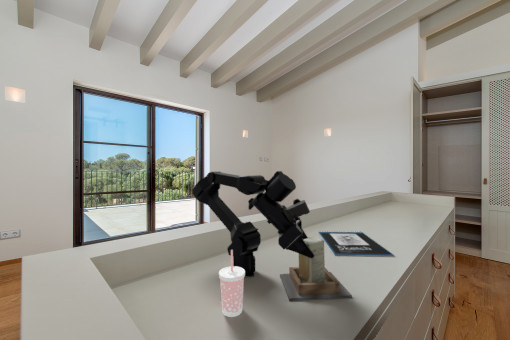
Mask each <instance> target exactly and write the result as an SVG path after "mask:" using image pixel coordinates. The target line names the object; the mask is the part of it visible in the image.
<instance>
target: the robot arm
mask: <svg viewBox="0 0 510 340" xmlns="http://www.w3.org/2000/svg"><path fill="white" fill-rule="evenodd" d="M296 185H297V184H296V182H295V181H294V180H293V179H292V178H291V177H290V176H289V175H287V174H285V173H283V171H282V170H276V172H275V173H274V174H273V175H272V177H271V178H270V179H269V180H268V179H266V178H265V177H264V175H261V174H260V175H258V174H257V175H238V174H231V173H226V172H221V171H210V172H208V173H207V174H206V176H204V177H202V179H200V180H198V181H197V182H196V183H195V185H194V187H193V188H192V195H193V197H194V199H195V200H197V201H198V202H199V203H202V204H204V205H206V206H208V207H209V209H210V210H211V211H212V212H213V214H215V216H216V217H217V218H218V220H219V221H220V222H221V223H222V224H223V226H224V227H225V228H226V229H227V230H228V231H229V233H230V241H231V243H230V244H229V245H228V246H227V253H228V255H229V256H230V257H231V250H233V266H238V267H242V268H243V269H244V270H245V276H244V278H245V277H246V278H247V277H255V272H256V257H255V255H254V252H258V250H259V247H260V245H261V237H262V236H261V233H260V232H259V228H257V227H256V226H255V225H254V224H253V222H251V221H246V222H242V221H241V219H240V218H239V217H238V216H237V215H236V214H235V213H234V211H233V210H231V208H230V207H229V206H228V205H227V204H226V202H224V200H222V198H221V197H220V196H219V194H220V193H219V191H220V189H221V186H227V187H230V188H234V189H236V190H238V192H240V193H242V194H244V195H245V196H252V195H255V197H254V198H253V197H251V198H250V199H248V210H250V211H251V210H252V209H253V208H254V207H255V208H256V209H257V211H259V213H261V215H262V216H263V217H264V218H266V220H267V221H266V223H268V225H270V224H271V225H272V226H273V227H274V228H275V229H276V230H277V234H278V235H279V236H278V243H277V244H278V245H279V246H280V248H282V249H283V250H287V251H291V252H294V253H297V254H298V255H299V254H302V255H304V256H307V257H309V258H313V257H314V254H313V252H312V251H311V249H310V248H309V247H308V245H307V244H306V243H305V241H304V240H303V239H306V238H309V236H308V235H307V233H306V232H305V231H304V228H303V225H302V219H301V216H302V217H303V216H304V215H308V214H310V208H309V207H308V204H307V202H306V200H300V199H299V198H296V199H293V200H292V202H293V203H292V205H290V206H288V207H287V206H286V205H284V204H282V205H281V202H283V201H285V199H286V198H287V197H289V196H290V194H292V192H293V191H295V190H296V188H297V186H296Z"/></svg>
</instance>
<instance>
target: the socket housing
mask: <svg viewBox="0 0 510 340" xmlns="http://www.w3.org/2000/svg"><path fill="white" fill-rule="evenodd" d="M288 269H289V270H288V271H289V273H280V274H279V278H280V280H281V282H282V286H283V288H284V291H285V294H286V296H287V298H288V302H294V301H311V300H312V301H314V300H316V301H317V300H330V299H331V300H332V299H349V298H350V299H351V298H353V295H352V294H351V292H350V291H349V290H348V289H347V288H346V287H345V286H344V285H343V284H342V283H341V281H340V280H339V279H337V277H336V276H335V275H334V274H333V273H332V272H331V271H329V270H328V269H327V268H326V267H325V282H316V283H301V281H300V280H299V266H289V268H288Z"/></svg>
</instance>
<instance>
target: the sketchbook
mask: <svg viewBox="0 0 510 340" xmlns="http://www.w3.org/2000/svg"><path fill="white" fill-rule="evenodd" d="M318 233H319V234H318V235H319V236H321V237H320V239H322V240H324V244H325V245H326V246H327V248H328V249H329V250H330V251H331V253H332V255H333V256H335V257H336V256H337V257H338V256H339V257H342V256H343V257H389V258H392V257H395V254H393V253H392V252H390V251H389V250H388V249H387V248H385V247H383V246H382V245H381V244H380V243H378V242H377V241H375V240H374V239H372V238H371V237H369V236H368V235H367V234H366V233H364V232H362V231H357V230H356V231H354V230H352V231H350V230H348V231H346V230H345V231H344V230H343V231H340V230H338V231H336V230H333V231H332V230H331V231H329V230H327V231H326V230H319V231H318Z"/></svg>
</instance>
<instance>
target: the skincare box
mask: <svg viewBox="0 0 510 340" xmlns="http://www.w3.org/2000/svg"><path fill="white" fill-rule="evenodd" d="M303 240H304V241H305V243H306V244H307V245H308V247H309V248H310V249H311V251H312V252H313V254H314V257H313V258H309V257H307V256H304V255H302V254H299V253H298V267H299V280H300V281H301V283H316V282H325V268H326V267H325V265H326V264H325V262H326V261H325V242H324V240H323V239H322V238H318V237H315V236H311V237H310V236H308V238H306V239H303Z"/></svg>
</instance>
